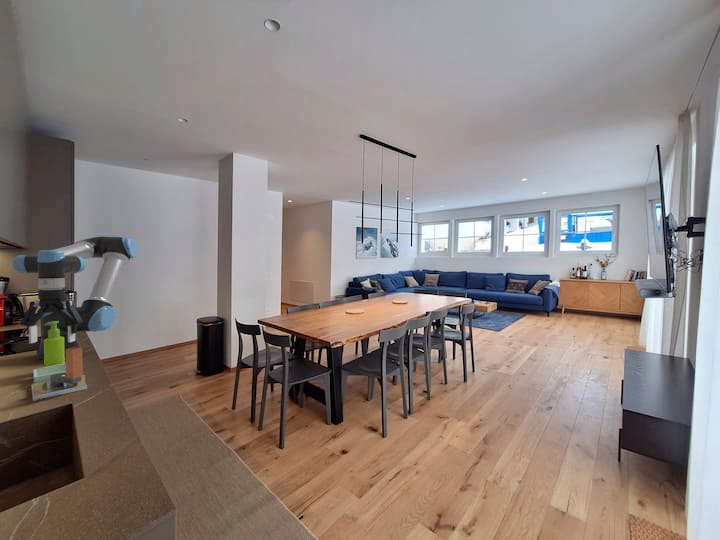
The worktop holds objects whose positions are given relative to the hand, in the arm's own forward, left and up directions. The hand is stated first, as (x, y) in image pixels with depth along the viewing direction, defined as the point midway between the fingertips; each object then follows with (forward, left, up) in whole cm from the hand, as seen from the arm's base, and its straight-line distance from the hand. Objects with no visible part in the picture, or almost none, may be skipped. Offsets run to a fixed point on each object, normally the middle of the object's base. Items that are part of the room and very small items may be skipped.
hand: (52, 342), depth 123 cm
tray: (+8, +7, -12) cm, 16 cm away
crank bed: (+18, +16, -12) cm, 27 cm away
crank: (+19, +19, -10) cm, 29 cm away
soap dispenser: (0, 0, -12) cm, 12 cm away
